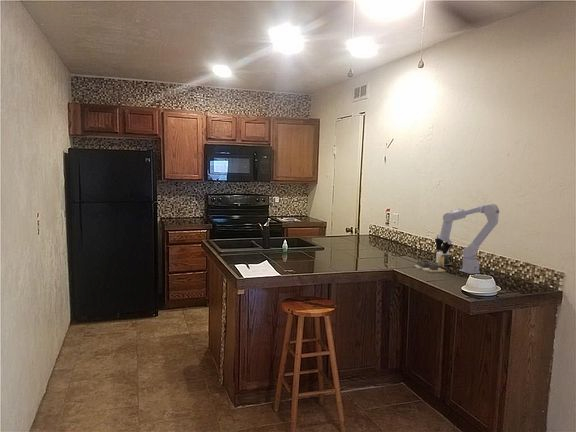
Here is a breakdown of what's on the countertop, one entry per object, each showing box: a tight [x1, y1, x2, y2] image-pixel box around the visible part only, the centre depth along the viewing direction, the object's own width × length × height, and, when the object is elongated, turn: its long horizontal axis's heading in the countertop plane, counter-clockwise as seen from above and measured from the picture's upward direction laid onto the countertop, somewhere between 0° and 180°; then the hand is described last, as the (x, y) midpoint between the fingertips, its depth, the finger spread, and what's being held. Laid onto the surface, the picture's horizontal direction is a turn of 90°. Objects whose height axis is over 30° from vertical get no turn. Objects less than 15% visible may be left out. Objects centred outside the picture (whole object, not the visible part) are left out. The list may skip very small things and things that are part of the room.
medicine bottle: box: [435, 244, 452, 266], centre depth 294 cm, size 7×7×12 cm
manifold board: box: [412, 259, 446, 274], centre depth 277 cm, size 17×11×4 cm, turn 20°
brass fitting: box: [437, 256, 445, 269], centre depth 283 cm, size 4×4×7 cm
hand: (441, 251), depth 283 cm, fingers open, 7 cm apart
